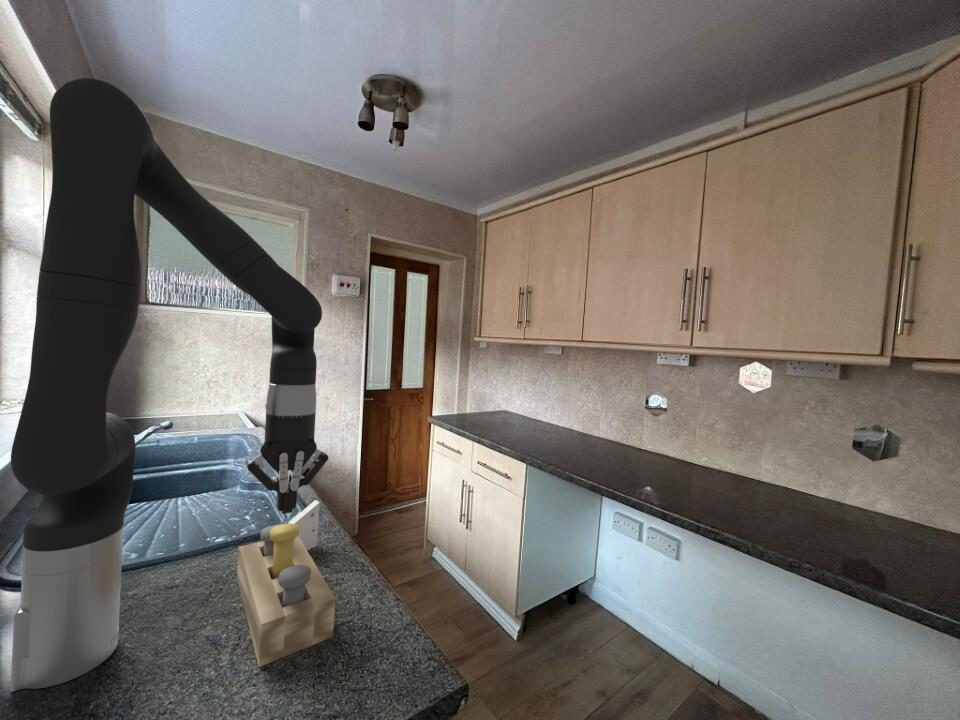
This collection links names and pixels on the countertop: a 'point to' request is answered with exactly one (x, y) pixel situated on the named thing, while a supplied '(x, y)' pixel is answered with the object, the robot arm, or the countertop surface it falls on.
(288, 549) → the ochre plug
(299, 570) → the grey plug near
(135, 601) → the countertop surface
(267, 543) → the grey plug far
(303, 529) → the white wedge bracket
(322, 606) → the block
